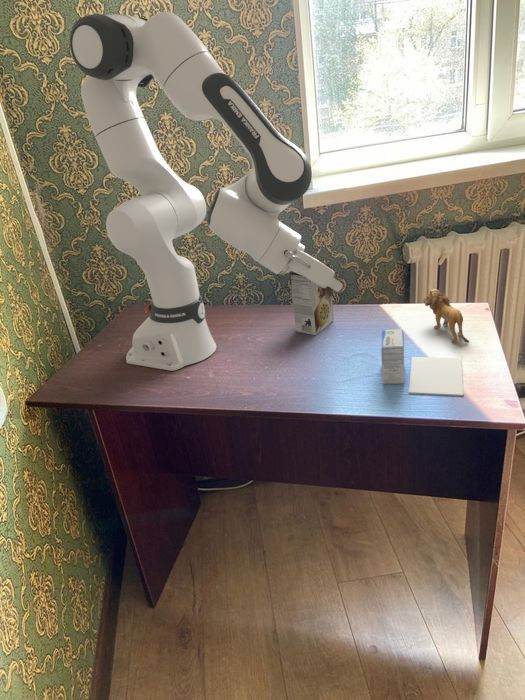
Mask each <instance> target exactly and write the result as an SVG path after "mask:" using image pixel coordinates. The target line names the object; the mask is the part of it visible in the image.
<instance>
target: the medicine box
mask: <svg viewBox="0 0 525 700" xmlns="http://www.w3.org/2000/svg"><path fill="white" fill-rule="evenodd" d="M380 350H381V351H380V356H381V359H380V360H381V378H382V381H381V382H382V384H386V385H387V384H388V385H389V384H391V385H393V384H394V385H396V384H397V385H398V384H402V385H403V384H405V339H404V330H403V329H399V328H398V329H395V328H394V329H391V328H390V329H382V331H381V349H380Z"/></svg>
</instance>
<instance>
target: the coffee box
mask: <svg viewBox="0 0 525 700" xmlns="http://www.w3.org/2000/svg"><path fill="white" fill-rule="evenodd" d="M317 260H318V259H317ZM318 261H320V262H321V263H323V264H324V265H326V266H327V267H329V268H330V262H329V261H323V260H318ZM330 269H331V268H330ZM288 274H289V280H290V282H289V283H290V290H291V299H292V309H293V317H294V325H295V332H298V333H302V334H307V335H311V336H312V335H313V336H317V335H318V334H320V333H321V332H323V330H324V329H326V328H327V327H328V326H329V325H330V324H331V323H333V322H334V320H335V317H334V307H333V306H334V304H333V291H332V290H333V289H332V288H330V287H328V286H327V287H326V288H322V287H320V286H319V285H317V284H316V283H314V282H312V281H311V280H309V279H308V278H306V277H304V276H302V275H300V274H298V273H295V272H293V271H290V272H289V273H288Z"/></svg>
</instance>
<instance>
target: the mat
mask: <svg viewBox="0 0 525 700" xmlns="http://www.w3.org/2000/svg"><path fill="white" fill-rule="evenodd" d="M408 394H415V395H432V396H433V395H434V396H435V395H436V396H452V397H453V396H454V397H455V396H456V397H463V396H464V386H463V369H462V358H461V357H429V356H427V357H426V356H411V363H410V376H409V388H408Z"/></svg>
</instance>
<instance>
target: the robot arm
mask: <svg viewBox="0 0 525 700" xmlns="http://www.w3.org/2000/svg"><path fill="white" fill-rule="evenodd" d="M69 50H70V54H71V57H72V59H73V61H74V64H75V65H76V66H77V68H78V69H79V70H80V71H81V72H82V73H84V74H85V75H86V76H87V77H86V79H85V80H84V81H83V82H82V83H81V84H82V85H81V87H80V95H81V100H82V104H83V108H84V111H85V114H86V118H87V120H88V122H89V123H88V124H89V126H90V128H91V131H92V133H93V135H94V138H95V140H96V142H97V145H98V147H99V149H100V151H101V154H102V156H103V158H104V161H105V162H106V165H107V167H108V168H109V169H108V170H109V171H110V172H111V174H112V175H113V176H114V177H116V178H117V179H118V180H119V179H120V180H122V181H126V182H128V184H131V186H133V187H134V188H135V189H136V190H137V191H138V193H139V194H140V196H136V197H134V198H132V199H128V200H125V201H124V202H122V203H121V204H119V205H118V206H117V207H115V208H113V209H112V210H110V212H109V213H108V214H107V217H106V221H105V226H106V227H105V228H106V233H107V234H106V235H107V237H108V239H109V241H110V242H111V244H112V245H113V246H114V247H115V248H116V250H118V251H120V252H121V253H123V254H125V255H128V256H130V258H133V259H134V260H135V261H136V262H137V263H138V265H139V266H140V268H141V270H142V271H143V274H144V276H145V278H146V281H147V285H148V289H149V292H150V296H151V299H152V300H151V301H150V302H148V304H147V306H146V307H145V308H144V309H143V310H144V311H145V312H144V313H145V314H147V313H148V312H149V316H148V317H147V318H146V319H145V320H144V321H143V323H141V324H140V326H139V327H138V328H137V329H136V330H135V331H134V333H133V336H132V346H131V348H130V349H129V350H128V351H127V353H126V356H125V361H126V364H129V365H136V366H142V367H148V368H153V369H159V370H166V371H177V370H179V369H180V370H181V369H182V368H183V367H185V366H188V365H193V364H195V363H199V362H202V361H204V360H206V359H207V358H209V357H210V356H212V355H213V354H214V352H215V351H216V350H217V343H216V341H215V340H214V338H213V336H212V334H211V331H210V329H209V326H208V322H207V320H206V310H205V304H204V300H203V297H202V293H201V292H200V289H199V285H198V279H197V274H196V270H195V269H196V268H195V266H194V264H193V262H192V261H191V260H189V259H188V258H186V257H184V256H182V255H178V254H177V252H176V250H175V247H174V245H173V240H175V239H177V238H179V237H182V236H183V235H186V234H188V233H190V232H192V231H193V230H194V229H195V228H197V227H198V226H199V224H201V223H202V222H203V221H204V220H205V218H206V225H207V226H208V228H209V229H210V230H211V231H212V233H214V234H215V235H216V236H217V237H219V238H220V239H221V240H223V241H224V242H225V243H227V244H229V245H230V246H232V247H233V248H234V249H236V250H238V251H240V252H244V253H246V254H248V255H249V256H251V258H252V259H253V260H254V261H255V262H256V263H258V264H260V265H262V266H263V267H264V268H266V269H267V270H269V271H271V272H272V273H274V274H275V275H279V274H280V273H282V272H284V273H285V274H289V272H290V271H293V272H295V273H298V274H300V275H302V276H304V277H306V278H308V279H309V280H311V281H312V282H314V283H316V284H317V285H319V286H320V287H322V288H326V287H327V286H328V287H330V288H331V290H334V291H335V292H338V293H340V291H341V290H342V288H343V286H344V285H343V283H342V282H340V281H339V280H337V279H336V278H334V277H335V273H336V272H335V271H334V270H333V269H332V268H329V267H327V266H326V265H324V264H323V263H321V262H320V261H321V260H319V261H318V259H317V258H315V257H313V256H312V255H310V254H309V253H306V252H305V249H306V246H305V245H304V244H303V243H302V242H301V240H302V235H301V234H299V232H297V231H295V230H294V229H292V228H291V227H289V226H288V225H286V224H284V223H283V222H282V221H280V220H279V218H278V217H279V215H280V213H282V212H283V211H284V210H285V209H287V208H288V207H289V206H290V205H292V203H294V202H295V201H297V200H298V199H300V198H302V196H304V195H305V194H306V193H307V191H308V190H309V188H310V186H311V182H312V177H313V173H312V167H311V164H310V161H309V158H308V157H307V155H306V154H305V153H304V151H303V150H302V149H301V148H299V146H297V145H295V143H292V142H291V141H290V140H289V139H287V138H286V137H285V136H283V135H282V133H280V132H279V131H278V130H277V129H276V127H274V125H273V123H272V122H271V121H270V120H269V119H268V118H267V116H265V114H264V112H262V110H261V109H260V108H259V107H258V105H257V104H256V103H255V102H254V101H253V99H252V98H251V97H250V96H249V95H248V93H246V91H245V90H244V89H243V87H241V86H240V84H239V83H238V82H237V81H235V79H234V78H233V77H231V76H230V75H228V74H226V72H225V71H224V70H223V69H222V68H221V66H220V65H219V64H218V63H217V61H216V60H215V59H214V57H213V55H212V54H211V52H210V51H209V50H208V48H207V47H206V46H205V44H204V43H203V41H202V40H201V39H200V37H198V36H197V34H196V33H195V32H194V30H192V29H191V28H190V27H189V25H187V23H186V22H185V21H184V20H182V18H181V17H180V16H178V15H177V14H175V13H173V12H171V11H162V12H158V13H155V14H154V15H152V16H150V17H149V18H148V19H147V18H146V17H137V16H135V15H134V16H133V15H128V14H122V13H117V14H102V13H93V14H87V15H84V16H82V17H81V18H79V19H77V20H76V21H75V22H74V24H73V25H72V28H71V30H70V34H69ZM153 79H155V80H156V82H157V84H158V85H159V86H160V88H161V90H162V91H163V93H164V94H165V95H166V97H167V98H168V99H169V101H170V102H171V104H172V105H173V106H174V107H175V108H176V109H177V110H178V111H179V112H180V114H181V115H183V116H184V117H185V118H186V119H188V120H190V121H191V120H192V121H197V122H198V121H199V122H202V121H204V122H205V121H207V120H211V119H215V120H217V121H219V122H221V123H222V124H223V125H224V126H225V127H226V128H227V129H228V131H229V132H230V133H231V134H232V136H233V137H234V138H235V139H236V140H237V142H238V143H239V144H240V145H241V146H242V148H243V149H244V150H245V151H246V153H247V154H248V155H249V157H250V160H251V164H252V169H251V170H249V172H248V173H247V174H245V175H244V176H242V177H240V179H238V180H237V181H235V182H233V183H231V184H229V185H227V186H224V187H220V188H219V189H218V190H216V192H215V193H214V195H213V197H212V200H211V202H210V205H209V207H208V209H207V203H206V200H205V197H204V195H203V194H202V192H201V191H200V190H199V188H197V187H195V185H193V184H190V183H188V182H186V181H185V180H183V179H182V178H181V177H180V176H179V175H178V174H177V173H176V172H175V171H174V169H172V168H171V166H170V165H169V164H168V163H167V162H166V160H165V158H164V157H163V155H162V153H161V152H160V150H159V148H158V145H157V143H156V141H155V139H154V136H153V135H152V132H151V130H150V128H149V125H148V122H147V120H146V119H145V116H144V113H143V112H142V111H143V110H142V109H141V106H140V104H139V101H138V98H137V89H138V88H139V87H140V88H146V87H147V86H148V85H149V84H150V83H151V82H152V80H153Z"/></svg>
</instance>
